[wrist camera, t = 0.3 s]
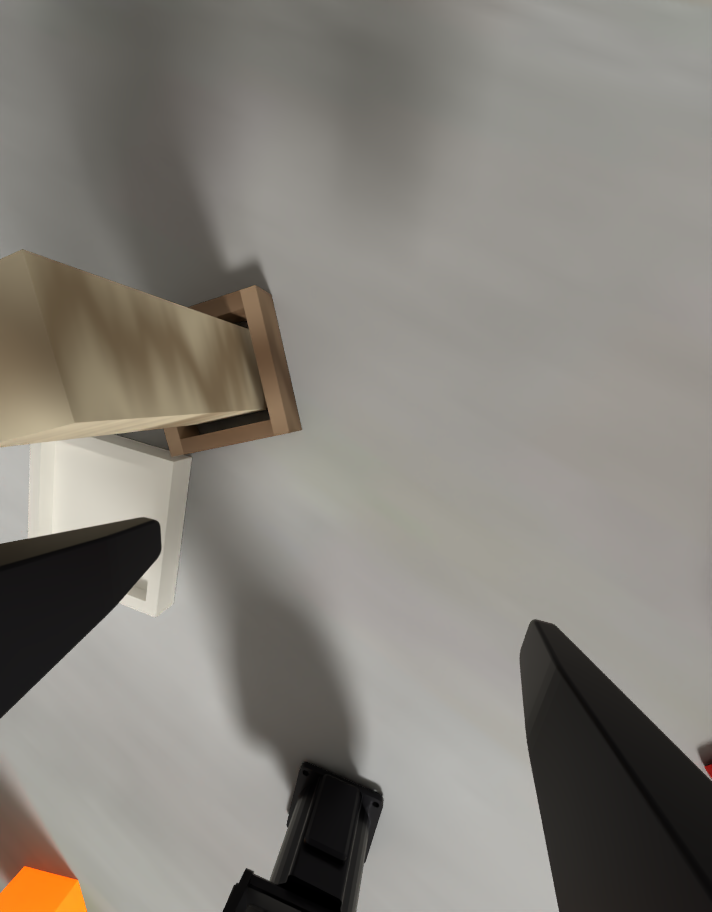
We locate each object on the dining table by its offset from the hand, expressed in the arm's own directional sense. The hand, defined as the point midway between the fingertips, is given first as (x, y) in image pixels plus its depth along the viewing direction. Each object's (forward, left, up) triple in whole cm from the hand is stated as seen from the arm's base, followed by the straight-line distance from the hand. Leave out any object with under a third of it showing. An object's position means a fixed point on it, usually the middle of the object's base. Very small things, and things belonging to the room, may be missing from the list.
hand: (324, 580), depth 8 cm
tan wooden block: (+3, +12, -14) cm, 19 cm away
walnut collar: (+3, +12, -14) cm, 19 cm away
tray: (-9, +20, -14) cm, 26 cm away
